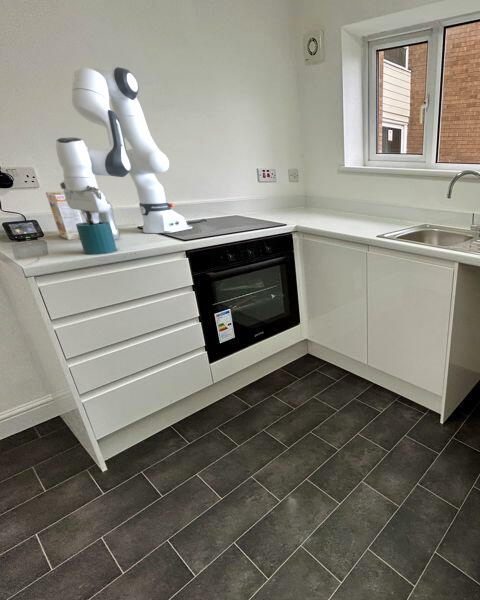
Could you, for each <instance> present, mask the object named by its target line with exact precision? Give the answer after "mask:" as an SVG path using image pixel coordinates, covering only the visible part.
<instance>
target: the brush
mask: <svg viewBox="0 0 480 600" xmlns="http://www.w3.org/2000/svg"><path fill="white" fill-rule="evenodd" d="M85 212H86V215H87V219H88V222H89V225H97V224H96V223H92V222H91V220H90V219H91V214H90V212H89V211H85Z"/></svg>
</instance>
